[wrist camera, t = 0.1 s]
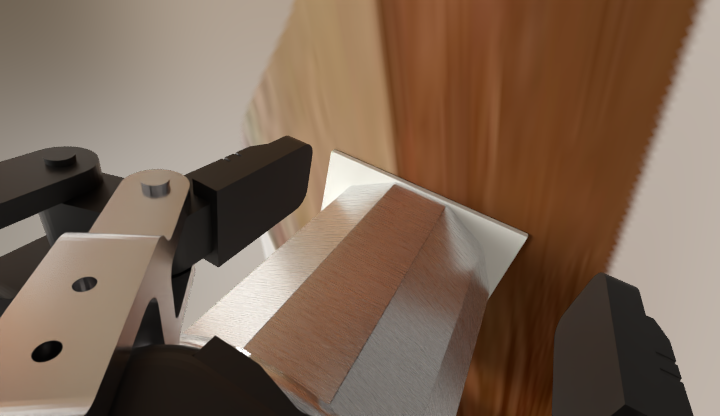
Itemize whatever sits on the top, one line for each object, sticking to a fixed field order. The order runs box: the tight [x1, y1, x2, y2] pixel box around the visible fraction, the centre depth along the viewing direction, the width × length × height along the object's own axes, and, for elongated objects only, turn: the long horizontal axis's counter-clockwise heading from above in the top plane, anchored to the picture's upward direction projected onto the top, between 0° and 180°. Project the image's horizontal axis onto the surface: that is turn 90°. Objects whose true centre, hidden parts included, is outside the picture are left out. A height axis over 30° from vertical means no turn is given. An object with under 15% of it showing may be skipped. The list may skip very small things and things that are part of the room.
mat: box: [321, 149, 528, 299], centre depth 34 cm, size 17×17×1 cm
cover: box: [179, 182, 490, 416], centre depth 25 cm, size 17×17×24 cm
